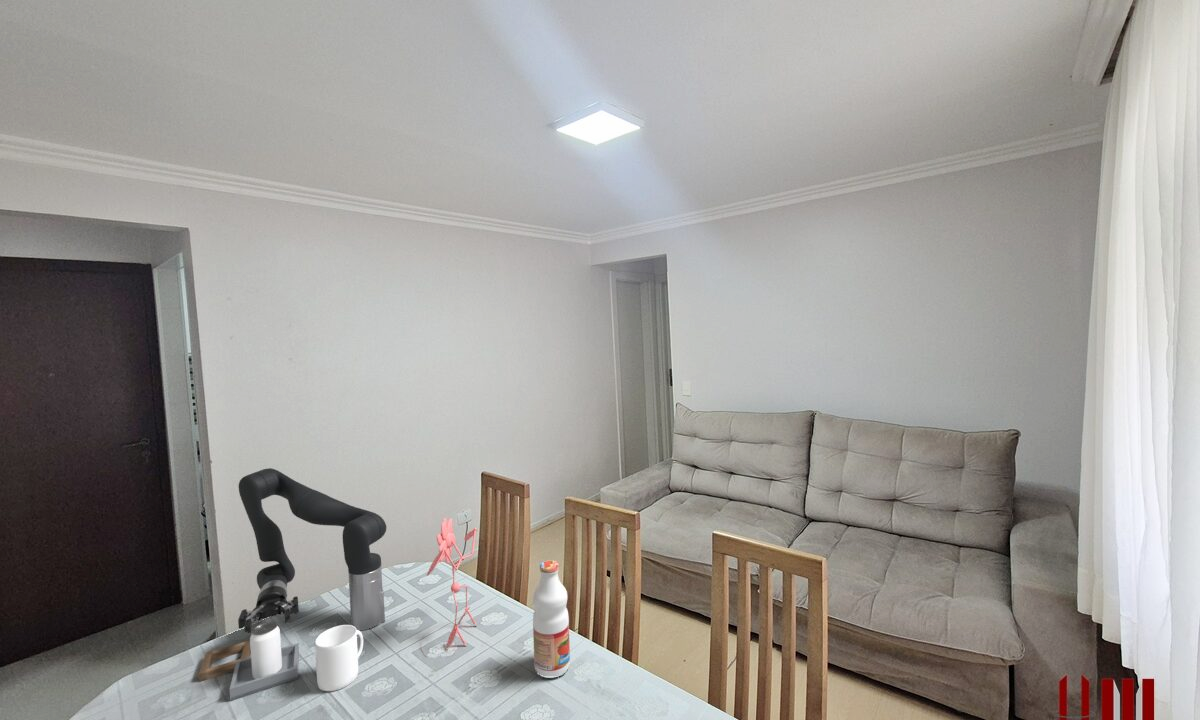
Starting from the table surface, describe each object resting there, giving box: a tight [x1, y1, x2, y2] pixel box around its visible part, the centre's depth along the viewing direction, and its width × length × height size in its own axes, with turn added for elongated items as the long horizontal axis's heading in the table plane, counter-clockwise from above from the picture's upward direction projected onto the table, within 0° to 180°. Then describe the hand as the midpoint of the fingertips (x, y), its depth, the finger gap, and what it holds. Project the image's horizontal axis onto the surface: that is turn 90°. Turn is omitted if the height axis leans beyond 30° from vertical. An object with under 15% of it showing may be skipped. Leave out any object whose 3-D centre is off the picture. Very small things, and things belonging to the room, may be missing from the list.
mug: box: [314, 624, 364, 692], centre depth 125 cm, size 10×12×12 cm
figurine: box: [426, 517, 478, 649], centre depth 140 cm, size 15×26×35 cm, turn 176°
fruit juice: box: [532, 559, 571, 676], centre depth 126 cm, size 9×9×28 cm
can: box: [249, 621, 282, 679], centre depth 126 cm, size 6×6×12 cm
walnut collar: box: [198, 639, 251, 683], centre depth 131 cm, size 10×10×2 cm
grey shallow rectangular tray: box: [229, 642, 300, 702], centre depth 126 cm, size 14×12×3 cm
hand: (267, 624), depth 133 cm, fingers open, 8 cm apart
